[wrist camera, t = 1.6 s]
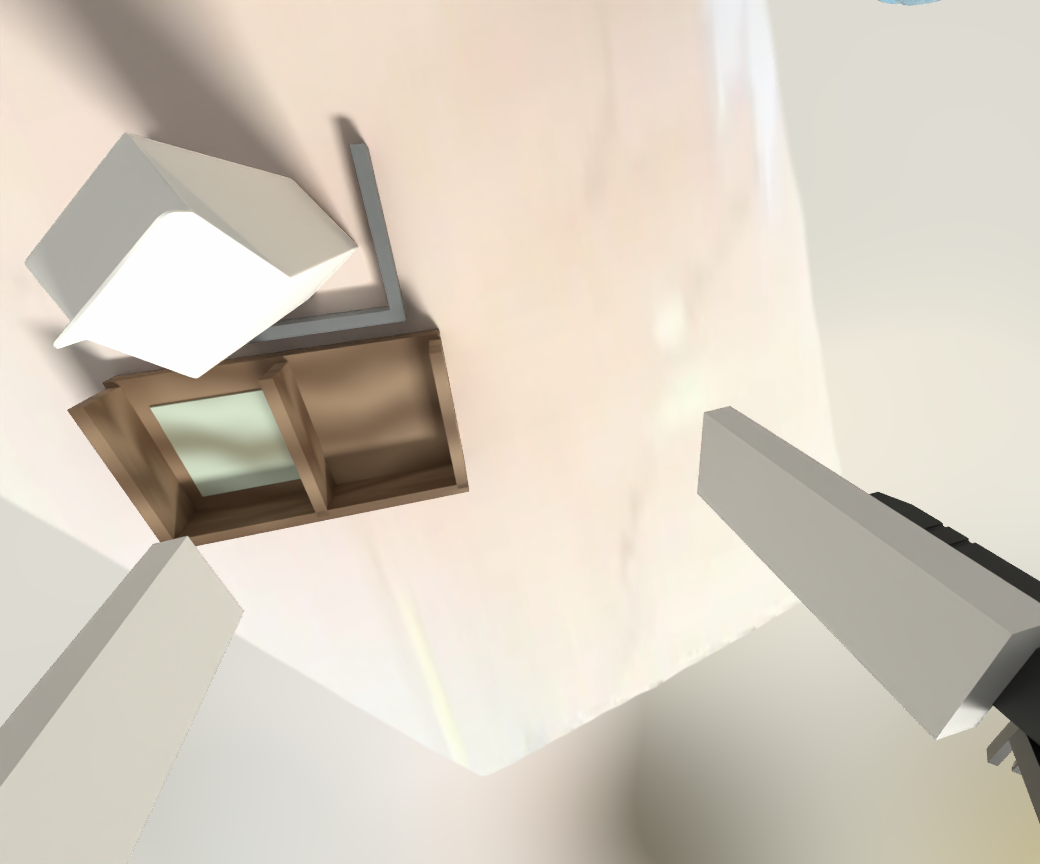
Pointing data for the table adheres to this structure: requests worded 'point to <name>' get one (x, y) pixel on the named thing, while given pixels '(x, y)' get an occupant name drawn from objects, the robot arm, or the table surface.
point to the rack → (281, 437)
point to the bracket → (386, 264)
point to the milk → (183, 255)
